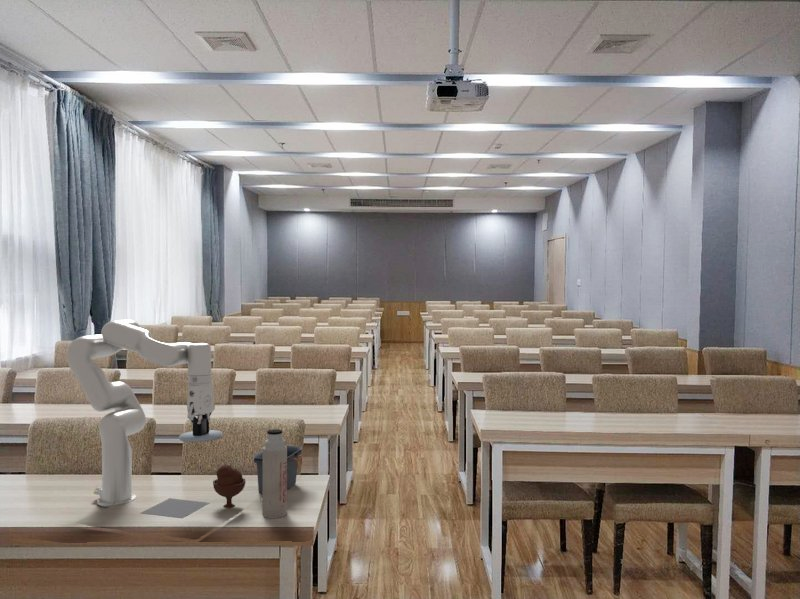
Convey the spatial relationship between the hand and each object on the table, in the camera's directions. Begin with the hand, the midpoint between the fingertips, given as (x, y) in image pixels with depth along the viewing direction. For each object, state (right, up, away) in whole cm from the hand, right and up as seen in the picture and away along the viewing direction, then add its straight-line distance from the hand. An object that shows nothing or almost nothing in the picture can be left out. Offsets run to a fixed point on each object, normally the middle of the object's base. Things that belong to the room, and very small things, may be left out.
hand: (201, 433), depth 225 cm
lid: (0, -1, 0) cm, 1 cm away
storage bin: (+22, -26, +24) cm, 42 cm away
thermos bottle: (+25, -26, -3) cm, 37 cm away
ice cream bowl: (+9, -26, +2) cm, 28 cm away
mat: (-8, -26, 0) cm, 27 cm away
